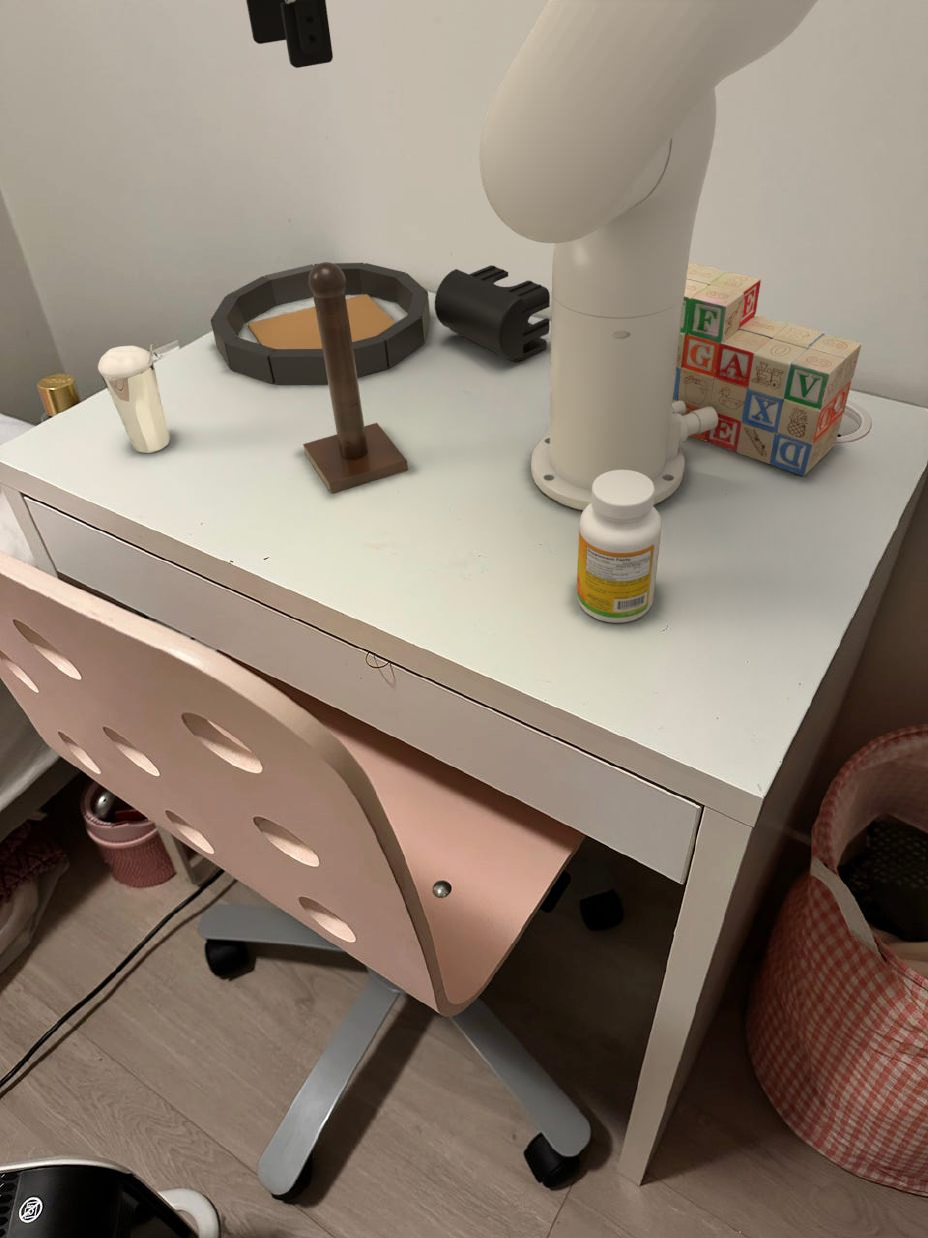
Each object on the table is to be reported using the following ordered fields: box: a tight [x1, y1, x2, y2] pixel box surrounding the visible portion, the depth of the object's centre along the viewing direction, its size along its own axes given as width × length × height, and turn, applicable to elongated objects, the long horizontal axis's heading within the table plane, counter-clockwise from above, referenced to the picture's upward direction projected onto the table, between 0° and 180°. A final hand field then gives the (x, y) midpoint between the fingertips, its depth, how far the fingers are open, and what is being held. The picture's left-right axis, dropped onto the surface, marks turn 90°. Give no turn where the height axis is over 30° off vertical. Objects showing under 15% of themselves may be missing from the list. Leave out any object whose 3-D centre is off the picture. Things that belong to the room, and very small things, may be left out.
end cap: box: [434, 264, 551, 362], centre depth 93 cm, size 10×7×7 cm
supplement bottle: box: [576, 470, 662, 624], centre depth 63 cm, size 5×5×10 cm
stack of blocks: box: [672, 262, 862, 477], centre depth 78 cm, size 21×6×12 cm, turn 50°
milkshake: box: [97, 341, 171, 454], centre depth 81 cm, size 4×5×10 cm
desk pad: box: [247, 294, 396, 349], centre depth 99 cm, size 14×12×1 cm
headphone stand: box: [302, 261, 409, 494], centre depth 75 cm, size 7×7×17 cm
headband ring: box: [210, 262, 431, 386], centre depth 98 cm, size 22×22×3 cm
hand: (292, 51), depth 72 cm, fingers open, 9 cm apart
